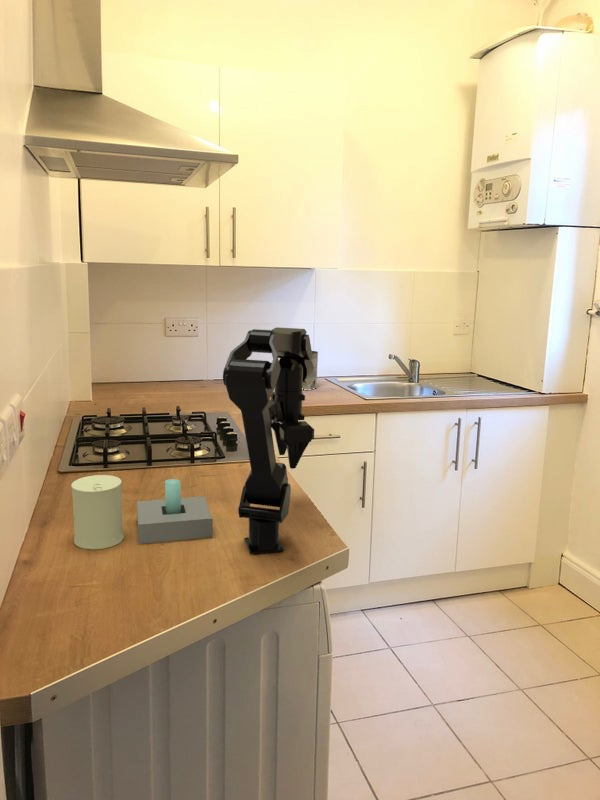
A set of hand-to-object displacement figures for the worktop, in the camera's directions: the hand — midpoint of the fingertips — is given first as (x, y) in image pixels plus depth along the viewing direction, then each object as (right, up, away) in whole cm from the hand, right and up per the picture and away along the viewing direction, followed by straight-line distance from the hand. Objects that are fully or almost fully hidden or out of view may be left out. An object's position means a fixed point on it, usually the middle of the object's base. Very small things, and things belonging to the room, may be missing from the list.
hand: (287, 461), depth 136 cm
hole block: (-23, -13, -6) cm, 27 cm away
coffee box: (+4, +18, +134) cm, 136 cm away
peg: (-23, -13, -6) cm, 27 cm away
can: (-36, -14, -11) cm, 40 cm away
